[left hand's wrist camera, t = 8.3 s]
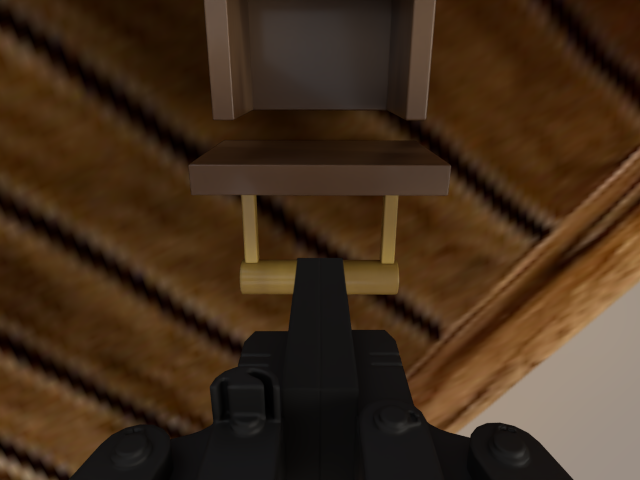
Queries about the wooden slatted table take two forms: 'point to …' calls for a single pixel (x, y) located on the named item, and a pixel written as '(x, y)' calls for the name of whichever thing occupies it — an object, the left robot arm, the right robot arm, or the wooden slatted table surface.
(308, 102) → the drawer
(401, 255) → the wooden slatted table surface
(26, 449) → the wooden slatted table surface
